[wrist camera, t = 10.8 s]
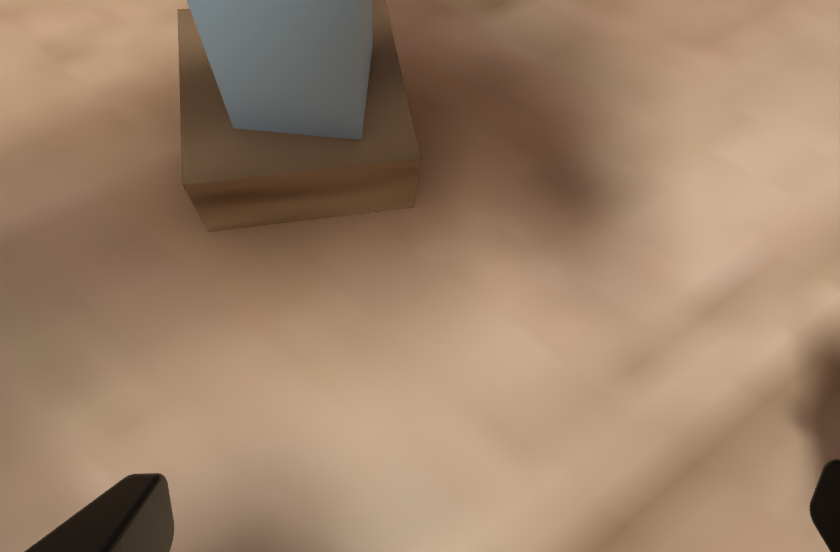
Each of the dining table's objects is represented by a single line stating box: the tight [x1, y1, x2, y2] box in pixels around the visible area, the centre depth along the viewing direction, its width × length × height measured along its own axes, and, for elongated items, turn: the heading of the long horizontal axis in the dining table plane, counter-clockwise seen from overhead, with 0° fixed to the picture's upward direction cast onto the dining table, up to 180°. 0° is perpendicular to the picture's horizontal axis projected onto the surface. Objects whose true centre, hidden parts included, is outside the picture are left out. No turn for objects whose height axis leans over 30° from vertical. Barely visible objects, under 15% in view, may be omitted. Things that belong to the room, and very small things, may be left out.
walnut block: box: [178, 0, 421, 232], centre depth 24 cm, size 9×9×4 cm
